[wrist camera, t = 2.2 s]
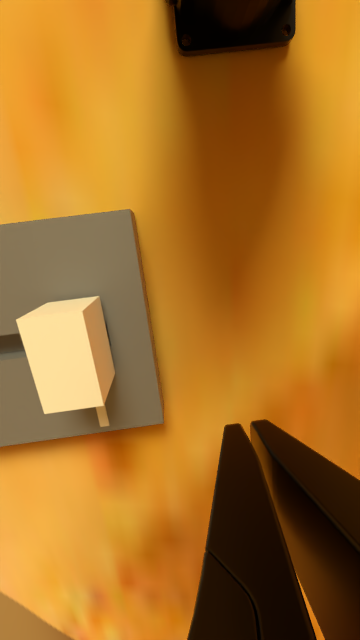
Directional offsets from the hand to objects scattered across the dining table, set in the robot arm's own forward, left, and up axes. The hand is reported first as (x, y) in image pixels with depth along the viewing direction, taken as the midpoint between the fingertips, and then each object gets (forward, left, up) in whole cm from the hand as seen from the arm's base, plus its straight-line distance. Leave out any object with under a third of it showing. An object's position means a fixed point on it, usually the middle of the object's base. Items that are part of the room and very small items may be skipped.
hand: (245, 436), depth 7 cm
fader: (+7, 0, -12) cm, 14 cm away
